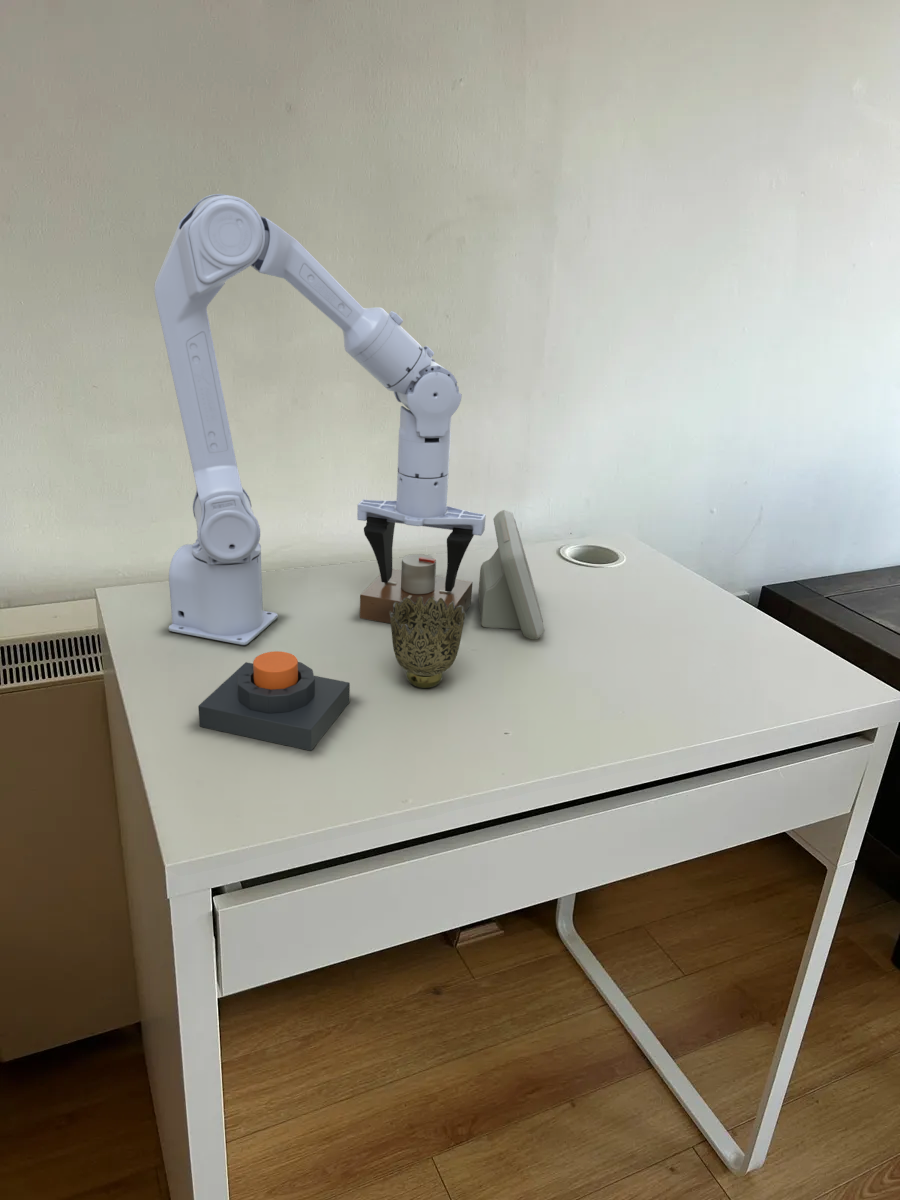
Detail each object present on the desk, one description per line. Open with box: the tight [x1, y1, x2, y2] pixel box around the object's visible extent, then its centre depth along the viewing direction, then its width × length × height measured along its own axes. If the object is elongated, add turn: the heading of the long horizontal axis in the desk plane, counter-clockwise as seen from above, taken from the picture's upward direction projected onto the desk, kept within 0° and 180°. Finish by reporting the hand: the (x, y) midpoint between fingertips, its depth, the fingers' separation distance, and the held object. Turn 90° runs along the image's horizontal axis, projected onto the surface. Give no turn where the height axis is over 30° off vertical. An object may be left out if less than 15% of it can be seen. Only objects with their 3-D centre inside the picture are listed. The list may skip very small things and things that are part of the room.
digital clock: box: [477, 509, 545, 640], centre depth 106 cm, size 16×9×11 cm, turn 169°
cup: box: [390, 596, 466, 689], centre depth 90 cm, size 8×7×8 cm
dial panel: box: [359, 568, 473, 625], centre depth 106 cm, size 11×9×3 cm
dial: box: [400, 553, 437, 594], centre depth 105 cm, size 4×4×4 cm
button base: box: [198, 661, 351, 752], centre depth 84 cm, size 11×9×4 cm
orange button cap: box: [252, 650, 299, 690], centre depth 82 cm, size 4×4×2 cm
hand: (418, 583), depth 106 cm, fingers open, 7 cm apart
